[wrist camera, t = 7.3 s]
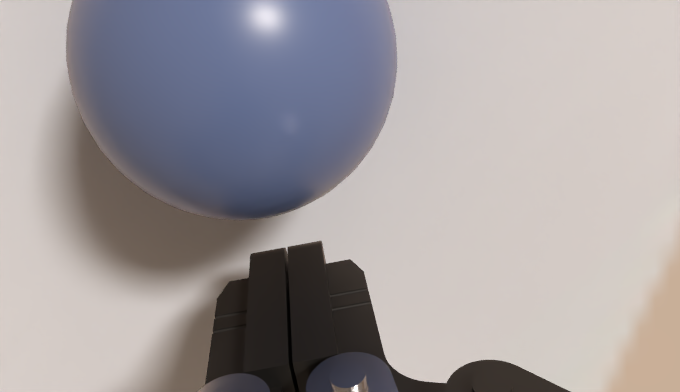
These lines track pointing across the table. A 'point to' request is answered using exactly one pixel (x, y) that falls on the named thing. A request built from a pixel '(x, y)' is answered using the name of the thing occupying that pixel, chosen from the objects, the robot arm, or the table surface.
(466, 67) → the table surface
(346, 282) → the robot arm
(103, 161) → the table surface
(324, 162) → the blue ball
